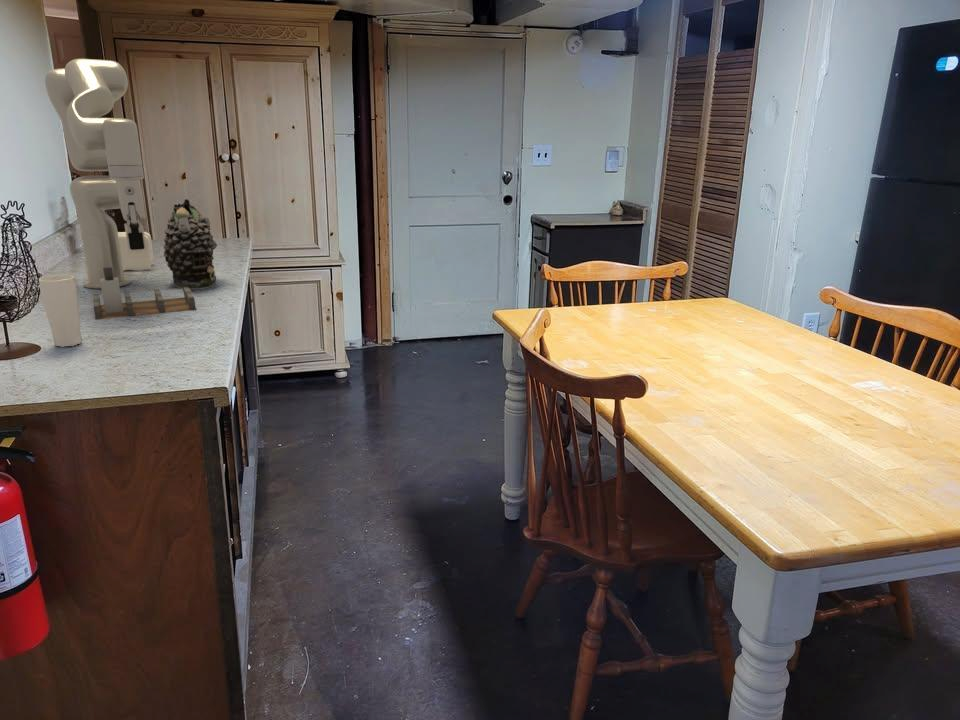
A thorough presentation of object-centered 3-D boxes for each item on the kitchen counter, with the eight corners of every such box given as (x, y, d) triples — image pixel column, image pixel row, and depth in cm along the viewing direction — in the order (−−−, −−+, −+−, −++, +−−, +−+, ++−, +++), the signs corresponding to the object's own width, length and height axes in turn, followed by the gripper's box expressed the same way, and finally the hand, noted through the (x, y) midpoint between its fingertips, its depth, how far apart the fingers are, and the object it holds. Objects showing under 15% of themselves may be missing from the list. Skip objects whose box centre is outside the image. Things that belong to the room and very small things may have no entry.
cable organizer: (101, 272, 226) (96, 236, 222) (106, 266, 236) (101, 231, 232) (152, 270, 231) (147, 235, 227) (155, 264, 240) (150, 230, 236)
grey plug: (105, 309, 178) (98, 266, 175) (122, 307, 180) (116, 265, 176) (105, 313, 175) (98, 269, 171) (123, 311, 177) (116, 268, 173)
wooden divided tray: (95, 309, 182) (92, 294, 181) (189, 301, 192) (187, 286, 191) (96, 324, 170) (93, 307, 168) (196, 314, 180) (194, 298, 179)
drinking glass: (61, 351, 150) (48, 282, 145) (44, 345, 153) (31, 278, 148) (92, 343, 155) (81, 277, 150) (75, 338, 159) (63, 273, 154)
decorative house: (223, 290, 206) (214, 203, 198) (167, 293, 200) (156, 205, 192) (219, 276, 224) (210, 196, 216) (168, 279, 218) (157, 197, 210)
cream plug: (146, 254, 179) (140, 210, 175) (147, 256, 176) (141, 212, 172) (128, 255, 177) (122, 211, 174) (129, 257, 174) (123, 212, 170)
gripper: (145, 174, 164) (155, 252, 170) (141, 170, 178) (150, 242, 184) (109, 175, 161) (121, 254, 167) (108, 170, 175) (119, 243, 181)
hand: (136, 247), depth 176 cm, fingers closed on cream plug, 4 cm apart
